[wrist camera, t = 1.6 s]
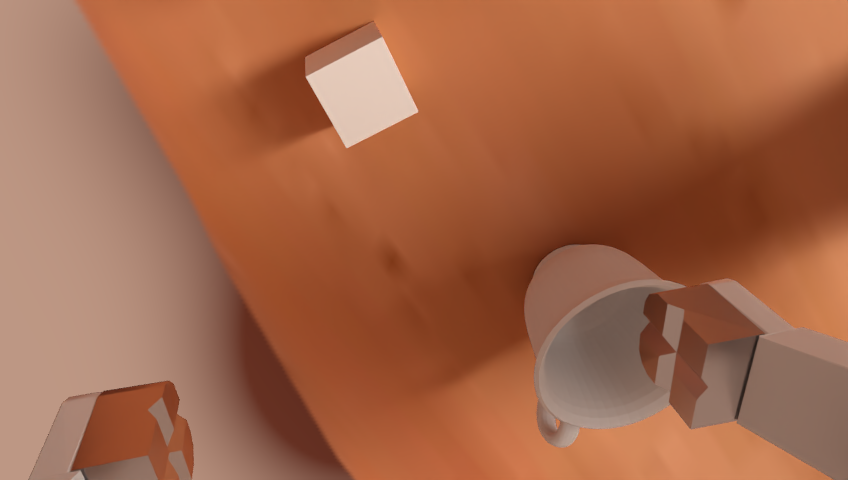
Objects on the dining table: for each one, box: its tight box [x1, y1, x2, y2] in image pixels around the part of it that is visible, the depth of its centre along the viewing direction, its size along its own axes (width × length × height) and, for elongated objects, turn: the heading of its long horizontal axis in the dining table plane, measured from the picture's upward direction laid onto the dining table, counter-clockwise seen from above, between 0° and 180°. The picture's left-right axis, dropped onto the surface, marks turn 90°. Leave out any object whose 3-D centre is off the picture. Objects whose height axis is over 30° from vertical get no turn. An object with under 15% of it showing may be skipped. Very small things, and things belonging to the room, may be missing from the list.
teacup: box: [524, 244, 686, 447], centre depth 43 cm, size 12×15×10 cm
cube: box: [305, 21, 419, 148], centre depth 35 cm, size 4×4×4 cm
